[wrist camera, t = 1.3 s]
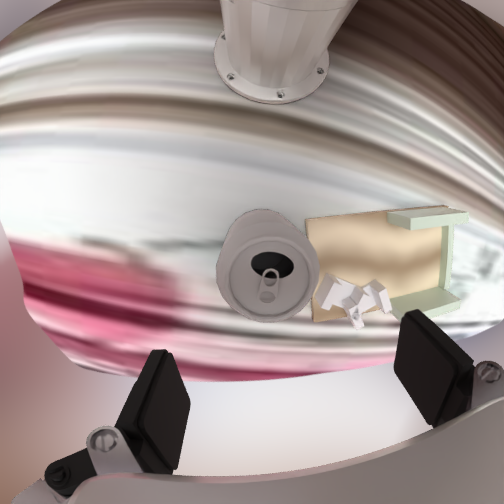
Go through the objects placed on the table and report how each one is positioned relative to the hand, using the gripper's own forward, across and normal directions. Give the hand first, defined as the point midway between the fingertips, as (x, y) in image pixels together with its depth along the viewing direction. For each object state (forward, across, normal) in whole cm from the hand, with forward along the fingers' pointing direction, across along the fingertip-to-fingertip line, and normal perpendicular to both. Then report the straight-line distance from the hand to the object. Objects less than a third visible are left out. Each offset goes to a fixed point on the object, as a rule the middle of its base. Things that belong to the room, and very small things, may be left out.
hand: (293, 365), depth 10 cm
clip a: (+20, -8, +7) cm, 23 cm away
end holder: (+19, -19, +4) cm, 27 cm away
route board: (+20, -14, +4) cm, 25 cm away
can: (+20, 0, 0) cm, 20 cm away
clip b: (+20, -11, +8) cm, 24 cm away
